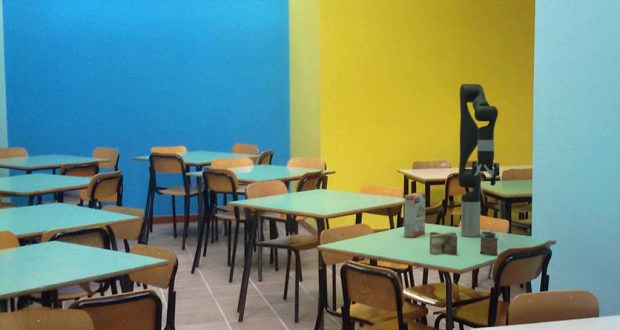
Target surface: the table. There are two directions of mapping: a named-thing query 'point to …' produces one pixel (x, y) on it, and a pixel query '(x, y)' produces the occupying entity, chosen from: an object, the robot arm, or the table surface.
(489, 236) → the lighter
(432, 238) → the beech plate
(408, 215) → the cracker box
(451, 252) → the notched brown block
